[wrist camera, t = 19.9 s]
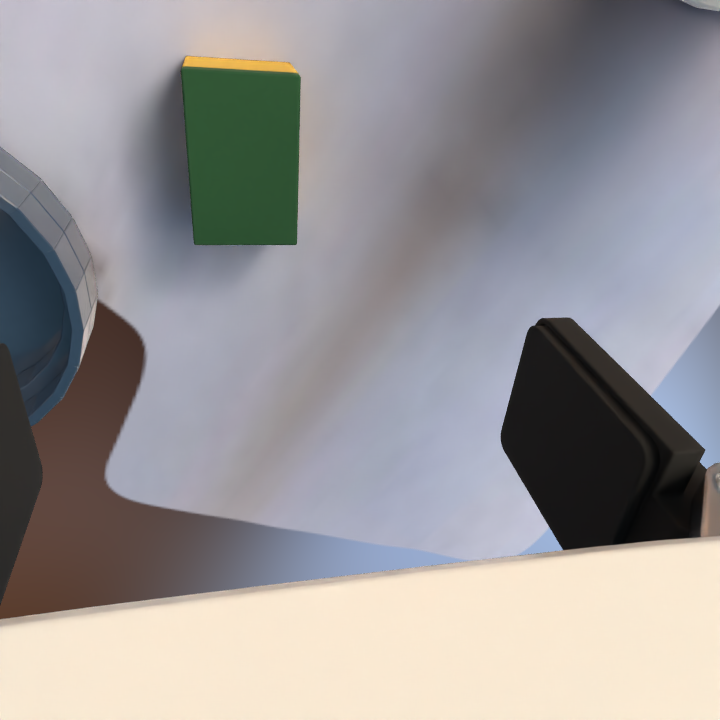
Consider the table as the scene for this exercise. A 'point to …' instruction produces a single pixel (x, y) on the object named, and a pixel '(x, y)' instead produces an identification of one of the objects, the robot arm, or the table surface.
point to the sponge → (242, 150)
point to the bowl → (42, 288)
